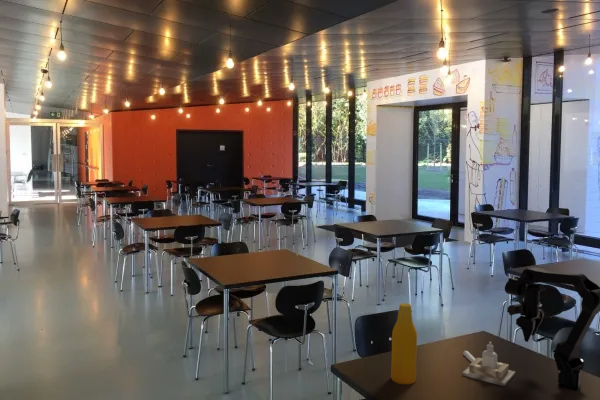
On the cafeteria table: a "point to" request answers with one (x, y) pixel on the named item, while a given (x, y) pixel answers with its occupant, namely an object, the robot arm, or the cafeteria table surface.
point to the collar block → (489, 372)
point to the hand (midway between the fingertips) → (529, 338)
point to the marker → (469, 356)
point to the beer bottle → (404, 347)
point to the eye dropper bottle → (489, 357)
